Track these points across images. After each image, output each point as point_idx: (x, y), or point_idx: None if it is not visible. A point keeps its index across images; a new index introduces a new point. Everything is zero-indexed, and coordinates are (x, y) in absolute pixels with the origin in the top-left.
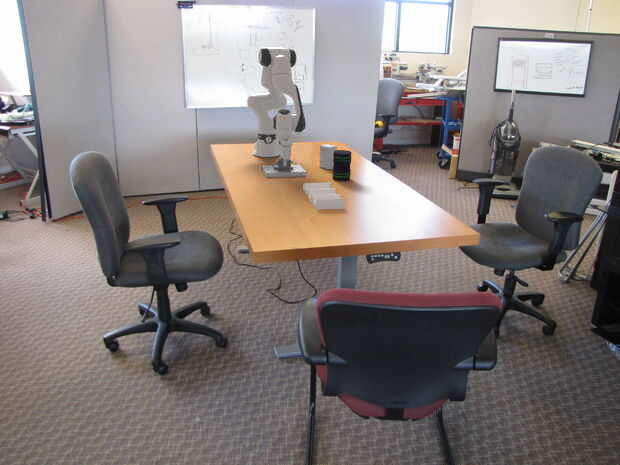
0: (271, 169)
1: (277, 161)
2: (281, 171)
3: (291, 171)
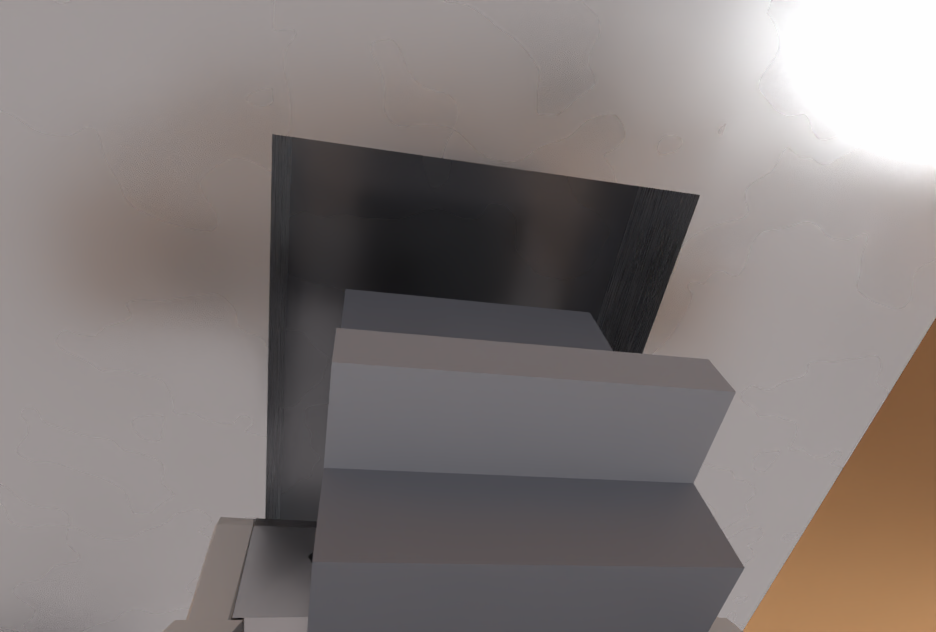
0: (414, 28)
1: (500, 460)
2: (40, 312)
3: (47, 556)
